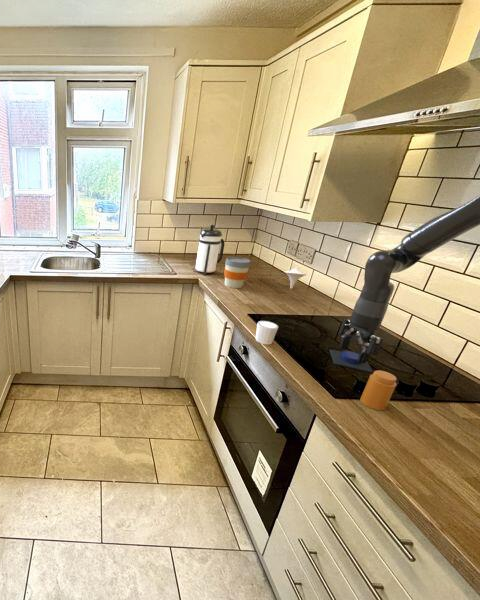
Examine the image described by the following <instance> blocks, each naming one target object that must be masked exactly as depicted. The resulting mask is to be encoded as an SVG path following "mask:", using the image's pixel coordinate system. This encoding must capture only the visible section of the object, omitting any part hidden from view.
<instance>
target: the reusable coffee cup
mask: <svg viewBox="0 0 480 600" xmlns="http://www.w3.org/2000/svg"><path fill="white" fill-rule="evenodd" d="M224 265H225V266H224V271H223V272H224V273H223V275H224V286H225V287H228V288H231V289H241V288H243V285H244V282H245V280H246V279H247V276H248V273H249V269H250V267H251V260H250V259H249V258H245V257H240V256H228V257H227V258H225V262H224Z"/></svg>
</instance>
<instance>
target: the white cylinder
mask: <svg viewBox="0 0 480 600" xmlns="http://www.w3.org/2000/svg"><path fill="white" fill-rule="evenodd" d="M278 330H279V325H278V324H276V323H275V322H272V321H269V320H258V322H257V324H256V330H255V331H256V332H255V341H256V342H257V343H259V344H262V345H268V346H269V345H272V344H273V342H274V340H275V336H276V334H277V332H278Z"/></svg>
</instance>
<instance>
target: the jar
mask: <svg viewBox="0 0 480 600" xmlns="http://www.w3.org/2000/svg"><path fill="white" fill-rule="evenodd" d="M396 387H397V377H396V376H395V375H394V374H393V373H390V372H388V371H384V370H380V369H379V370H374V371H373V372H372V373H370V375H369V377H368V379H367V381H366V384H365V387H364V389H363V391H362V393H361V396H360V398H359V401H360V402H361V403H362V404H363V405H364V406H366V407H368V408H370V409H372V410H376V411H384V410H386V408H387V406H388V404H389V402H390V401H391V399H392V396H393V393H394V391H395V389H396Z"/></svg>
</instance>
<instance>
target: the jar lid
mask: <svg viewBox="0 0 480 600" xmlns="http://www.w3.org/2000/svg"><path fill="white" fill-rule="evenodd" d="M341 352H342V353H341V355H340V358H341V359H342V360H344V361H345V362H348V363H351V364H357V365H358V364H361V363H359V362H358V361H357V360H358V357H359V355H360V353H358V352H354V351H351V350H343V351H341Z"/></svg>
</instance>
